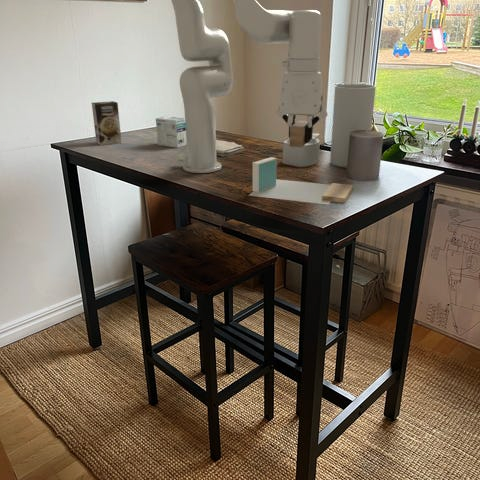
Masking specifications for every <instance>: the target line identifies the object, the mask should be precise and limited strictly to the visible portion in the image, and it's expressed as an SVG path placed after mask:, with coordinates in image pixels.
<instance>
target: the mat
mask: <svg viewBox="0 0 480 480" xmlns="http://www.w3.org/2000/svg"><path fill="white" fill-rule="evenodd" d="M330 185H331V184H328V183H318V182H316V183H315V182H307V181H298V180H297V181H296V180H287V179H277V178H276V186H274V187H271V188H268V189H266V190H263V191H260V192H255V191H253V190H252V192H250V194H248V196H249V197H250V196H251V197H258V198H260V197H261V198H266V199H267V198H268V199H277V200H283V201H293V202H299V203H300V202H301V203H311V204H316V205H317V204H318V205H326V206H327V205H328V206H329V205H330V204H331V202H332V201H326V200H322V195H323V194H324V193H325V191H326V190H327V189H328V187H329V186H330Z"/></svg>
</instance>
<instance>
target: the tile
mask: <svg viewBox="0 0 480 480" xmlns="http://www.w3.org/2000/svg"><path fill="white" fill-rule="evenodd" d="M277 160H278V159H277V157H272V156H270V157H268V158H263V159H260V160H257V161H253V162H252V192H253V191H255V192H260V191H263V190H266V189H268V188H271V187H274V186H276V179H277Z"/></svg>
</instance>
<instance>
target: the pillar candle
mask: <svg viewBox="0 0 480 480" xmlns="http://www.w3.org/2000/svg"><path fill="white" fill-rule="evenodd" d="M384 135H385V133H383V132H381V131H378V130H372V129H371V130H367V129H366V130H356V131H352V132H350V138H349V150H348V161H347V168H346V174H345V176H346V178H347V179H350V180H353V181H357V182H358V181H359V182H372V181H373V182H374V181H377V180H378V179H379V178H380V172H381V171H380V170H381V162H382V161H381V160H382V159H381V158H382V151H383V143H384Z"/></svg>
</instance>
